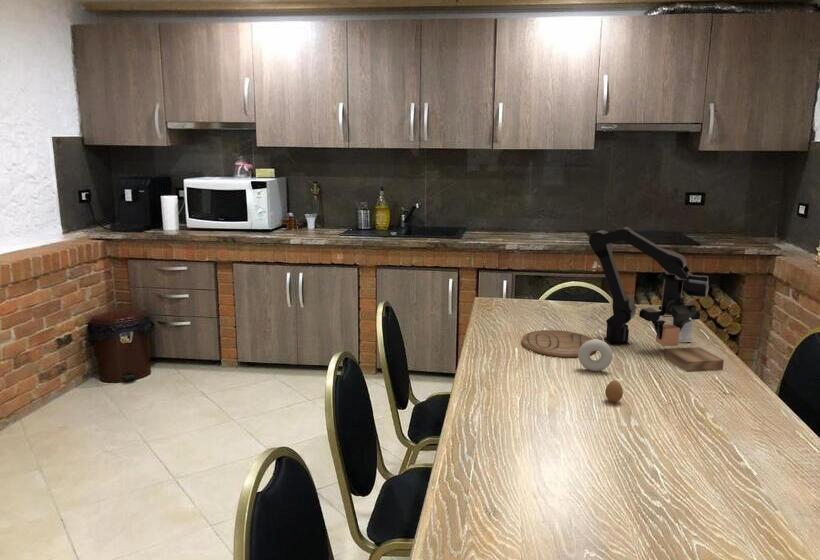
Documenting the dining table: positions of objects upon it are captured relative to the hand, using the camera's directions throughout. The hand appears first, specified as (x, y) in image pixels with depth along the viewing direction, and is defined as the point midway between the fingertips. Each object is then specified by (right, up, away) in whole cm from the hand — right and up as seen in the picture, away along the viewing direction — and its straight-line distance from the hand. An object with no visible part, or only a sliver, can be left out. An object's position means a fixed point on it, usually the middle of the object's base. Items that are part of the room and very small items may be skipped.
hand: (667, 339), depth 209 cm
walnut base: (+4, -7, -10) cm, 13 cm away
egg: (-31, -13, -40) cm, 52 cm away
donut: (-29, -8, -18) cm, 35 cm away
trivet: (-34, -3, +5) cm, 35 cm away
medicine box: (+10, -2, +14) cm, 17 cm away
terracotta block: (0, -2, 0) cm, 2 cm away
